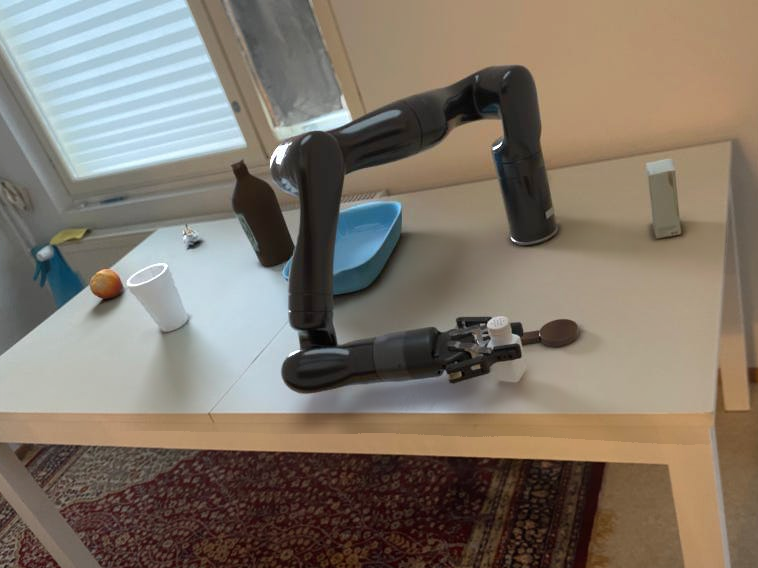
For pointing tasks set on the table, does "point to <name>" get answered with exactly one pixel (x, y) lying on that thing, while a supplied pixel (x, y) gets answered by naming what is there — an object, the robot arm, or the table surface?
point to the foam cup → (159, 296)
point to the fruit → (106, 284)
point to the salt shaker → (503, 336)
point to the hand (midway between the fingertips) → (521, 339)
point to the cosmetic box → (663, 198)
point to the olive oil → (260, 216)
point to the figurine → (189, 236)
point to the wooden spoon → (552, 334)
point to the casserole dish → (363, 244)
